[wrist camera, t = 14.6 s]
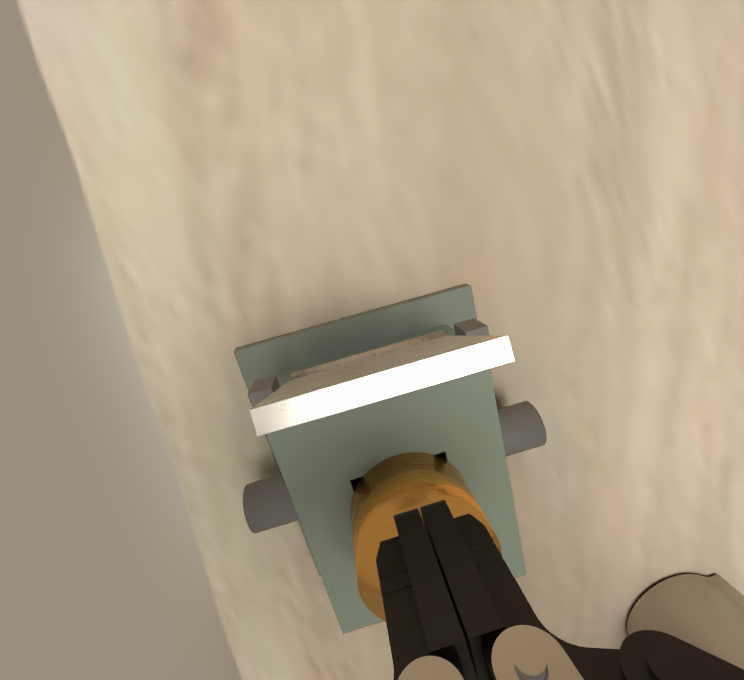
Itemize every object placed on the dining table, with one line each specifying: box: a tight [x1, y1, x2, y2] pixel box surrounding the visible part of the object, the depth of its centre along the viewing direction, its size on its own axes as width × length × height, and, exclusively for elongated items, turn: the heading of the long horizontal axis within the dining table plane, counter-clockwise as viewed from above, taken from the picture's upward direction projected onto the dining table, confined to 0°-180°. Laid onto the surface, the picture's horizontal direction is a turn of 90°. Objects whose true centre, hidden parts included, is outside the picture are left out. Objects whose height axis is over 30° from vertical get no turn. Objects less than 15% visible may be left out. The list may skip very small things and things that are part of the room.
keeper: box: [250, 330, 515, 436], centre depth 14 cm, size 7×1×8 cm, turn 104°
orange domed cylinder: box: [350, 452, 502, 622], centre depth 20 cm, size 6×6×10 cm
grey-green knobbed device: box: [234, 284, 546, 634], centre depth 22 cm, size 18×18×8 cm
